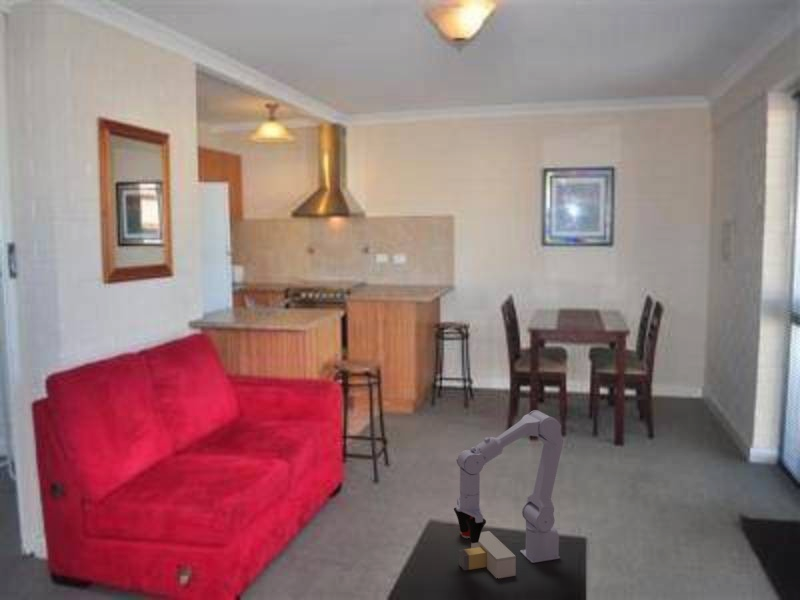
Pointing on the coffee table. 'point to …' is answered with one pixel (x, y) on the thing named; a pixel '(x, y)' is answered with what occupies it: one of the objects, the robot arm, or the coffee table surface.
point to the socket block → (497, 556)
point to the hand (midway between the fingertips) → (469, 537)
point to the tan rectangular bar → (473, 558)
